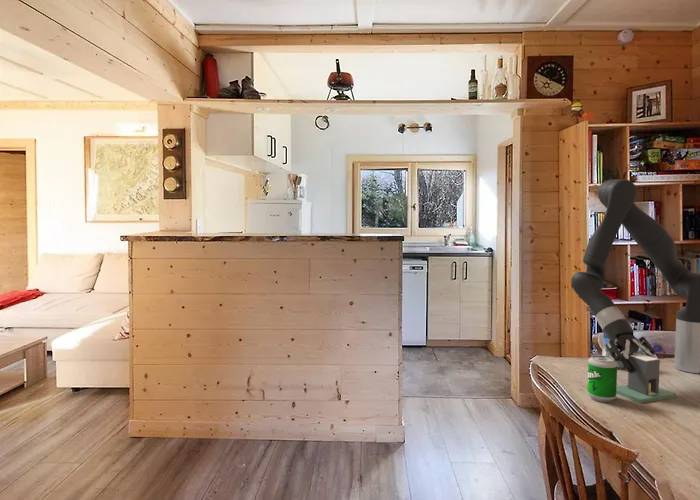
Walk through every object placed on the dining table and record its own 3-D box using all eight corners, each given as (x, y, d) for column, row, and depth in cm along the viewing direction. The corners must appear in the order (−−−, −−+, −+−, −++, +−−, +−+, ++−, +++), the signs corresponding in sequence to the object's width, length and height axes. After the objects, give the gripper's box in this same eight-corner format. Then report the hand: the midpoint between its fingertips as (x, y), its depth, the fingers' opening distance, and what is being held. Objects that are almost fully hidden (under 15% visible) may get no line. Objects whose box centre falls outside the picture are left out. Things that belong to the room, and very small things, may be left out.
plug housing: (640, 386, 145) (641, 353, 144) (658, 393, 139) (659, 359, 138) (627, 388, 143) (628, 355, 143) (645, 395, 138) (646, 361, 137)
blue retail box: (605, 367, 165) (606, 333, 164) (601, 364, 169) (602, 330, 168) (633, 369, 163) (634, 334, 162) (629, 365, 167) (630, 331, 166)
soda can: (613, 394, 141) (614, 355, 140) (618, 404, 134) (620, 363, 133) (585, 392, 143) (586, 353, 142) (589, 401, 136) (590, 360, 135)
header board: (646, 385, 148) (646, 372, 148) (676, 396, 139) (677, 383, 138) (610, 390, 144) (611, 377, 144) (639, 403, 135) (640, 389, 134)
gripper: (603, 319, 146) (634, 367, 136) (638, 316, 150) (671, 362, 140) (589, 332, 151) (618, 379, 141) (623, 328, 155) (654, 373, 145)
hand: (644, 370), depth 141 cm, fingers open, 8 cm apart
